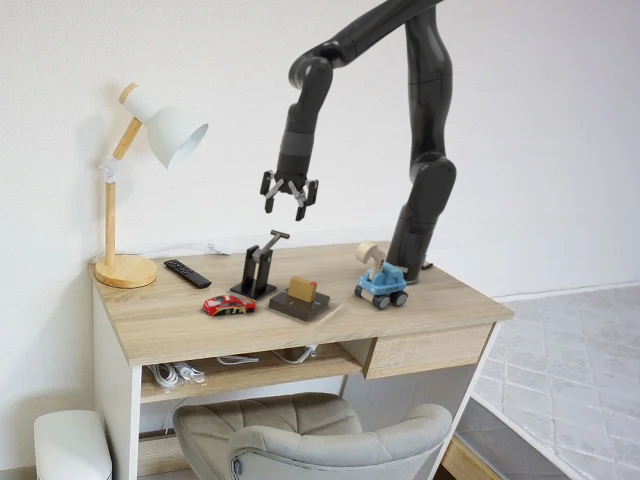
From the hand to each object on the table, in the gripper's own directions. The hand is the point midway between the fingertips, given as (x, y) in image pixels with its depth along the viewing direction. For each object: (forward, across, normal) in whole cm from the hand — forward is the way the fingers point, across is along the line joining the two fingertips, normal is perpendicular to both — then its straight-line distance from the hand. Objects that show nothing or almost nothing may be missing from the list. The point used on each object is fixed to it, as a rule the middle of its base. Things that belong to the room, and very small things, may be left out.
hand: (283, 216), depth 131 cm
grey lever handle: (+8, 0, +5) cm, 9 cm away
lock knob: (+15, -13, +9) cm, 22 cm away
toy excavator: (+18, -25, -7) cm, 31 cm away
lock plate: (+18, -13, +9) cm, 24 cm away
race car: (+18, -2, +23) cm, 30 cm away
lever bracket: (+18, 0, +9) cm, 20 cm away
